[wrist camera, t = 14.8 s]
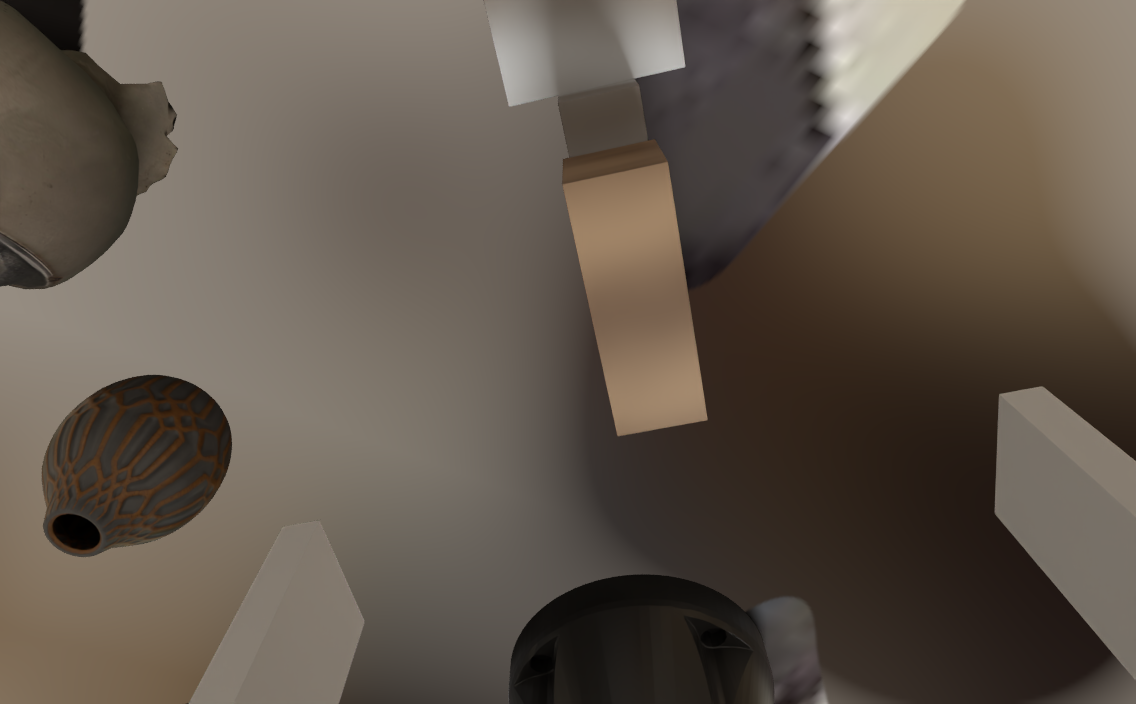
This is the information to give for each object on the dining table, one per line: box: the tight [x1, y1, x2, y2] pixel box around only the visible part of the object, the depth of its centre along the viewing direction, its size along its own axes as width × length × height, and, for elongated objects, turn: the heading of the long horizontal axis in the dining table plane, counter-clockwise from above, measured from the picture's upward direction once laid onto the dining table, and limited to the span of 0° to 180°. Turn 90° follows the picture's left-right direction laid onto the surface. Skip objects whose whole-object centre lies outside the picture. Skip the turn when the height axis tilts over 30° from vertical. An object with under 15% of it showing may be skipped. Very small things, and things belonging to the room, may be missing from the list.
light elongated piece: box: [484, 0, 707, 436], centre depth 28 cm, size 19×7×7 cm, turn 12°
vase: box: [42, 375, 232, 557], centre depth 33 cm, size 7×7×9 cm
